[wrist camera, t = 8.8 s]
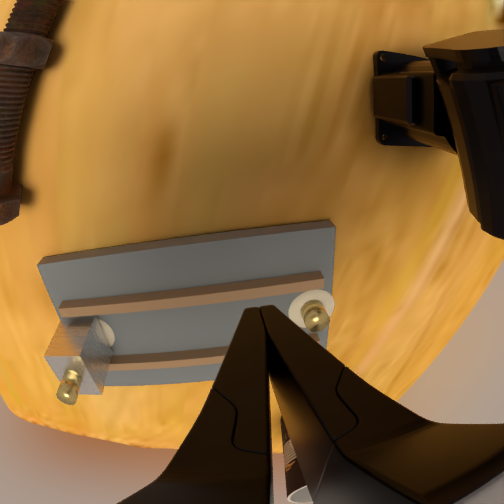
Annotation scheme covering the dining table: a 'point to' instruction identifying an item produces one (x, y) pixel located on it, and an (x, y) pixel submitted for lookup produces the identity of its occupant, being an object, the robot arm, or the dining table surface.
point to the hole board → (191, 294)
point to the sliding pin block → (79, 357)
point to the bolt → (19, 84)
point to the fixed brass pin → (314, 316)
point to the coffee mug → (293, 472)
